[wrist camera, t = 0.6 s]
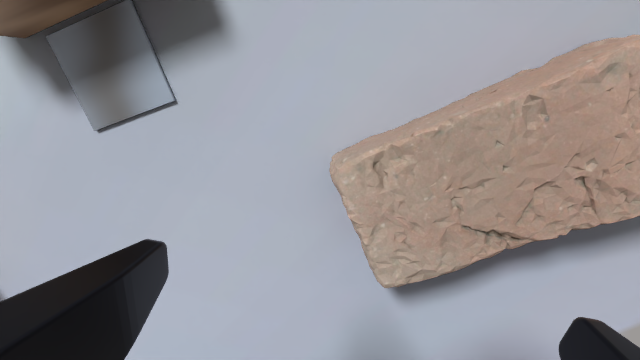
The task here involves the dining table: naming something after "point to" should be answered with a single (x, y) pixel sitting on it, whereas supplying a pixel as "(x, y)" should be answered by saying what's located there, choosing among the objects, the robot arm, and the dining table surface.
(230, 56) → the dining table surface
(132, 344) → the robot arm
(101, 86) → the structure
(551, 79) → the brick
